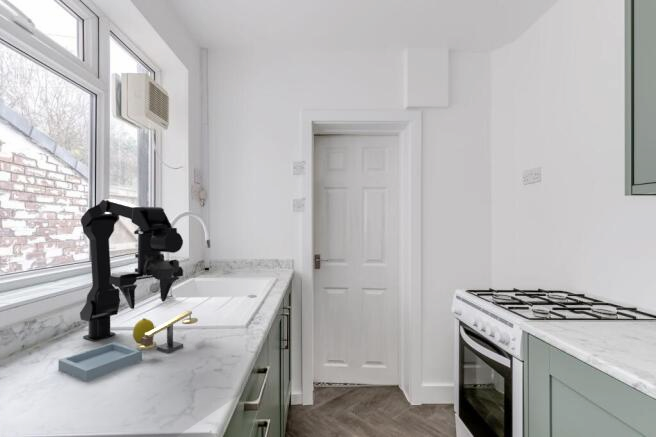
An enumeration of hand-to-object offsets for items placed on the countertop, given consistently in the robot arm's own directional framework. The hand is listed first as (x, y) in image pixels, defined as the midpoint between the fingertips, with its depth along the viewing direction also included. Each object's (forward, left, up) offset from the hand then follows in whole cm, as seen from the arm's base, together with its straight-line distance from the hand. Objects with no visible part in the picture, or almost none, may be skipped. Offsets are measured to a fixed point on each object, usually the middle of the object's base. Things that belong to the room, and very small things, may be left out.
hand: (148, 304), depth 93 cm
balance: (+5, +3, -13) cm, 14 cm away
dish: (-1, -12, -13) cm, 17 cm away
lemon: (-4, +1, -13) cm, 13 cm away
